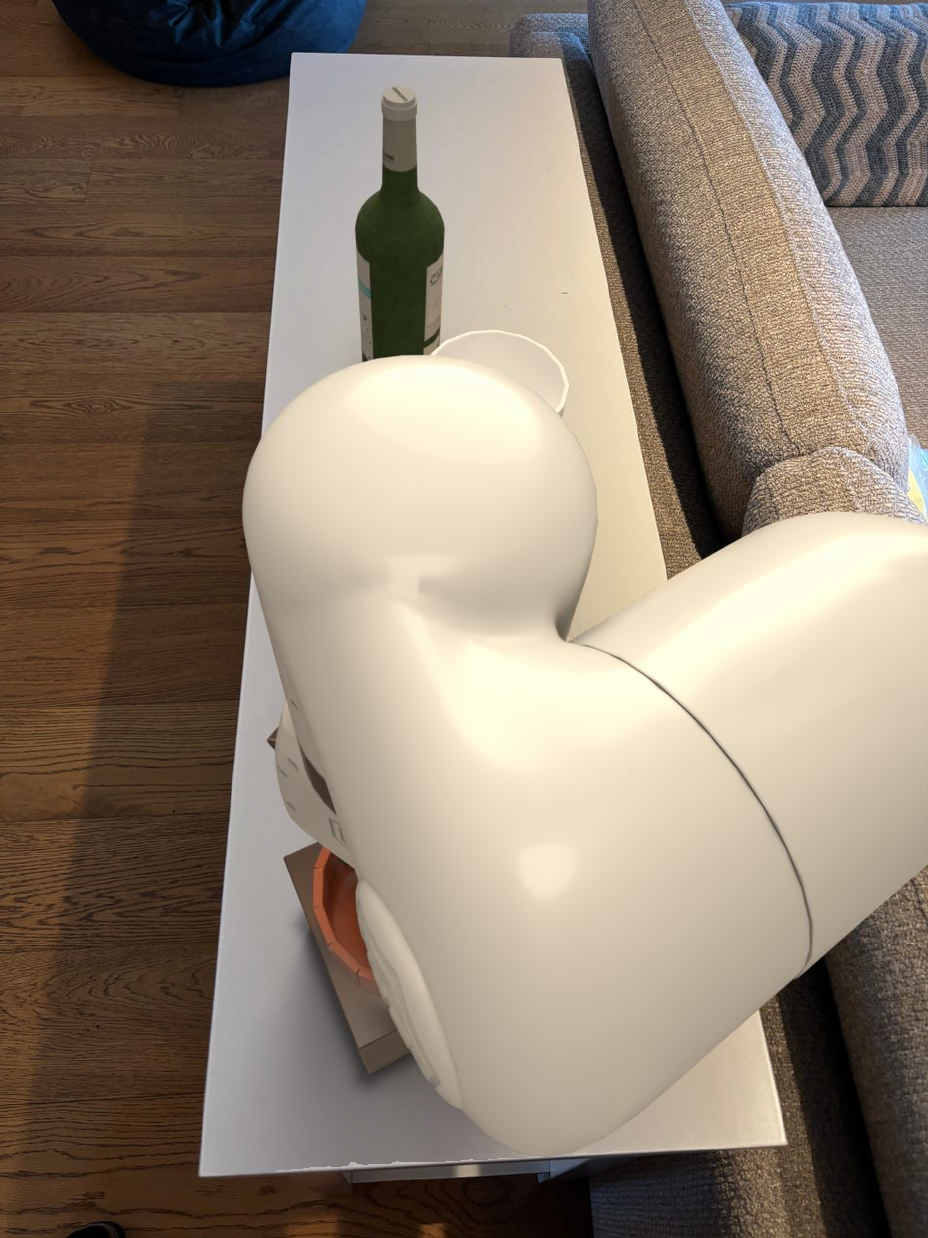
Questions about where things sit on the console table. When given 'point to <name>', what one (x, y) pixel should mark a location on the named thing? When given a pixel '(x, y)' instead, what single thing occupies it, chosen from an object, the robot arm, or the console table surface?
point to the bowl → (341, 918)
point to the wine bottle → (399, 246)
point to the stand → (359, 1007)
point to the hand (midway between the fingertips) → (413, 872)
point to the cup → (513, 361)
